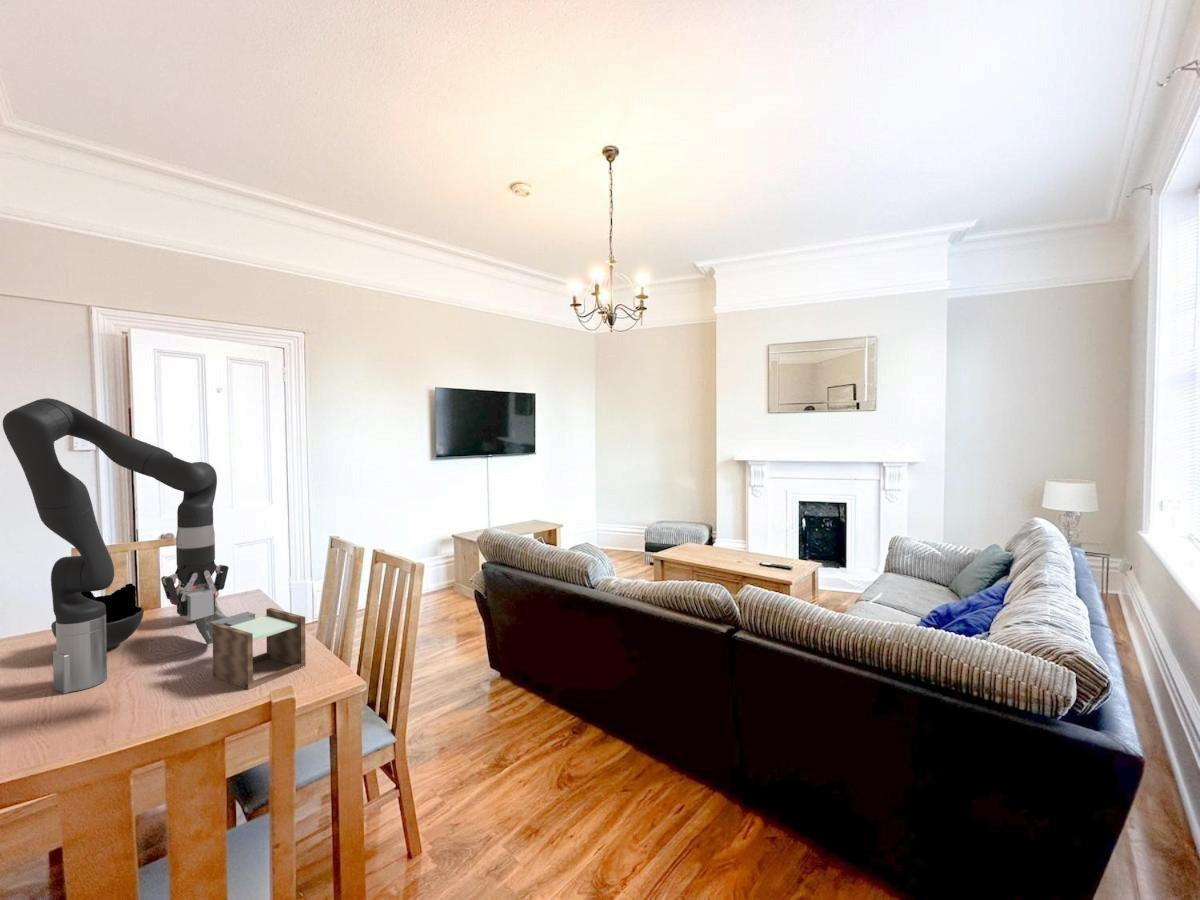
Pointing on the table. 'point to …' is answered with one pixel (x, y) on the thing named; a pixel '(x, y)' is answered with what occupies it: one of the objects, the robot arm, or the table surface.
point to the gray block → (199, 604)
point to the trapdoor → (254, 625)
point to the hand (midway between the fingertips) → (196, 611)
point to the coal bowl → (118, 614)
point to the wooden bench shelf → (238, 659)
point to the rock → (208, 620)
